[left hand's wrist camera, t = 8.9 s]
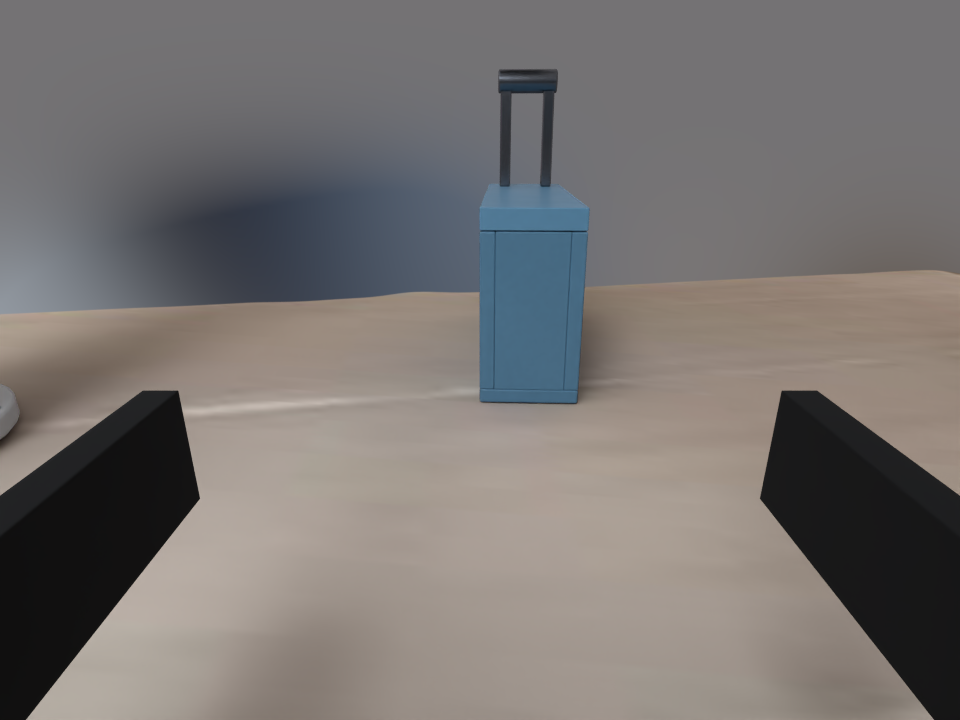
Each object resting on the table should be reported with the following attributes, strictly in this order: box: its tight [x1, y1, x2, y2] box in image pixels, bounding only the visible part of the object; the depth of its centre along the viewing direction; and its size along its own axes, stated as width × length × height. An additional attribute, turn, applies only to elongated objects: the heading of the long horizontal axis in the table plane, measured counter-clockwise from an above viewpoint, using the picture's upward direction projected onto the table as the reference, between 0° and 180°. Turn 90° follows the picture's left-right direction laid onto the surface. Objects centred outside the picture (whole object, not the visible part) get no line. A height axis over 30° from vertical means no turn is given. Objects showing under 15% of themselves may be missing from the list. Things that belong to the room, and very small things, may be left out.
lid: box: [480, 69, 590, 231], centre depth 33 cm, size 17×5×8 cm, turn 178°
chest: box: [480, 230, 588, 403], centre depth 36 cm, size 16×5×9 cm, turn 178°
